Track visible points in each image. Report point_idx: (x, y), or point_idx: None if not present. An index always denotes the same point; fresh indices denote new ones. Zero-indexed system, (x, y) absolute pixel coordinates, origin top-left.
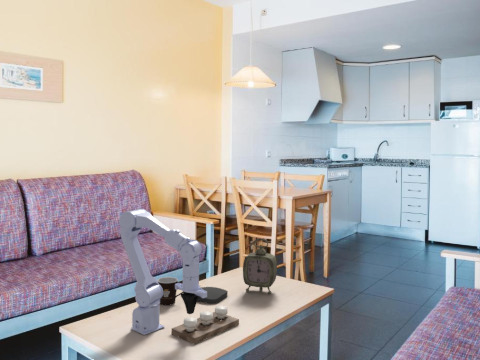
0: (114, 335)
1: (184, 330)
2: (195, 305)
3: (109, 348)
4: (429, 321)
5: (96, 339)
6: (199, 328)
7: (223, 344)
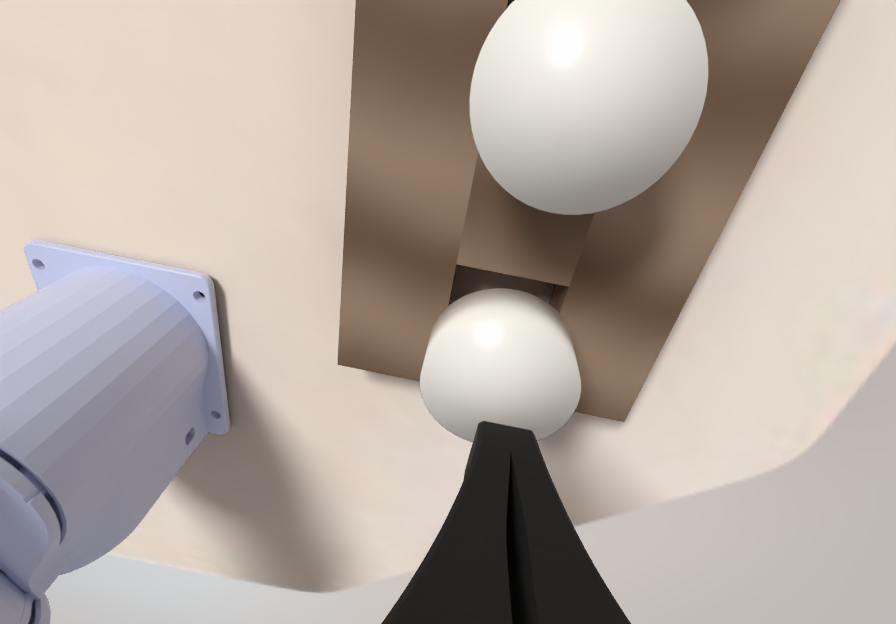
0: None
1: None
2: (570, 527)
3: (245, 568)
4: None
5: None
6: (558, 247)
7: (867, 297)
